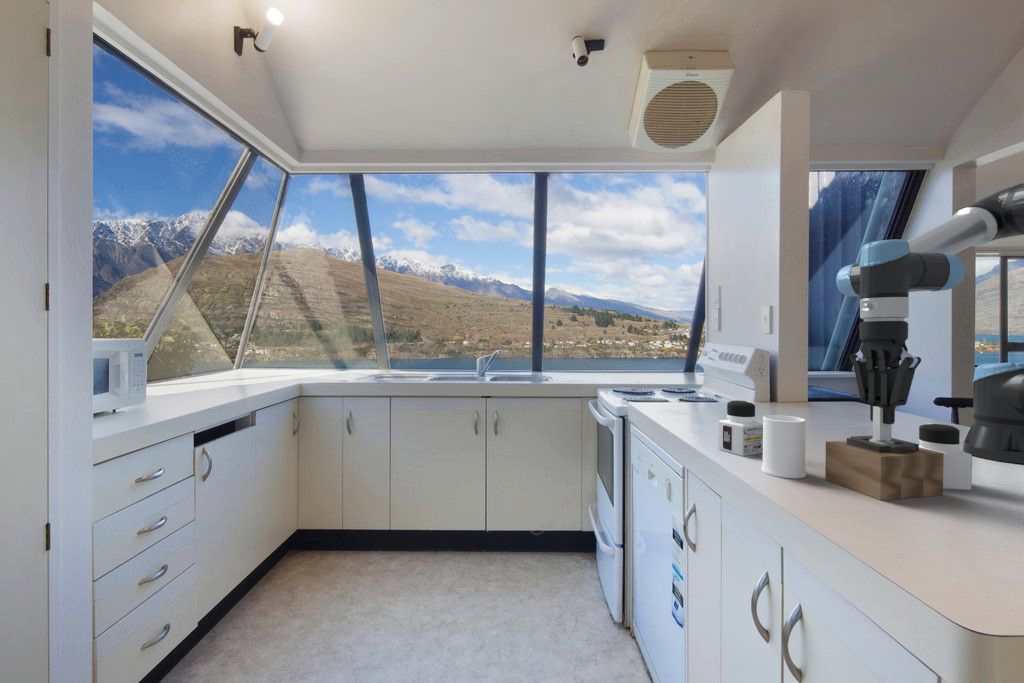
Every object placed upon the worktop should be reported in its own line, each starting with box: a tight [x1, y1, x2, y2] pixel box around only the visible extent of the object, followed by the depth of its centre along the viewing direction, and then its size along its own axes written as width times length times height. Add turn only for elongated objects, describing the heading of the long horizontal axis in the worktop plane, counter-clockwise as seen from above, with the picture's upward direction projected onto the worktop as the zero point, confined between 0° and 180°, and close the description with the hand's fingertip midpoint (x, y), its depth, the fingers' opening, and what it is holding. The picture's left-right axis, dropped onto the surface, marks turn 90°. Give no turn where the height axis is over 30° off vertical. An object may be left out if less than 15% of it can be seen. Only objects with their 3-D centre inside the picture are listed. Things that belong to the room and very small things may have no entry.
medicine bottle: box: [918, 422, 973, 491], centre depth 94 cm, size 7×7×12 cm
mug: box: [761, 414, 807, 480], centre depth 104 cm, size 12×8×12 cm
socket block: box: [824, 435, 944, 501], centre depth 92 cm, size 14×12×9 cm
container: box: [717, 399, 763, 457], centre depth 120 cm, size 8×8×13 cm
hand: (881, 439), depth 92 cm, fingers closed
